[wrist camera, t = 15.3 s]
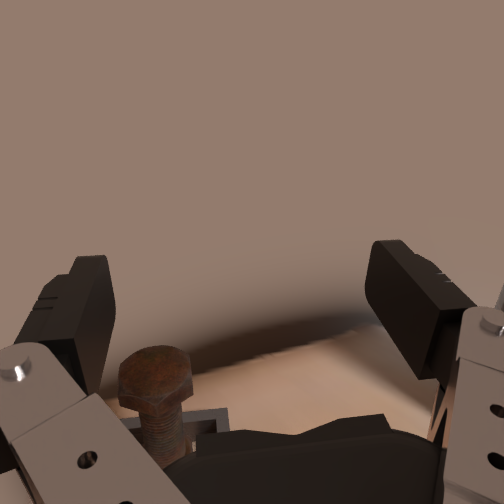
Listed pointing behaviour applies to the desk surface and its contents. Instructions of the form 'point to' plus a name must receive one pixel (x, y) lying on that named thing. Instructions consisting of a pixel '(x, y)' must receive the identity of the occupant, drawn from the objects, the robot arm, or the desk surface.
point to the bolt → (158, 399)
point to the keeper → (189, 423)
